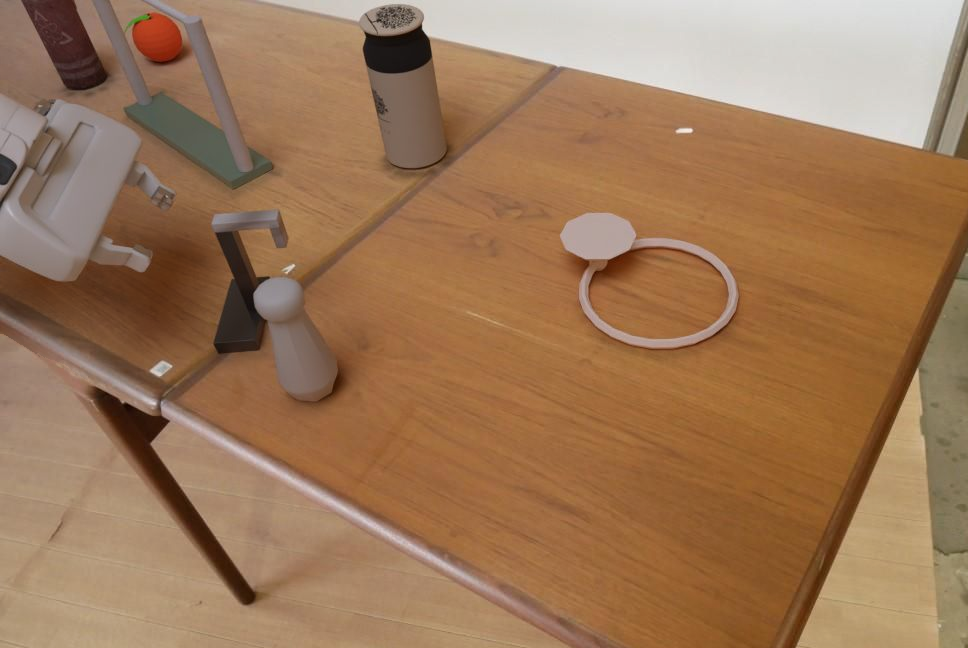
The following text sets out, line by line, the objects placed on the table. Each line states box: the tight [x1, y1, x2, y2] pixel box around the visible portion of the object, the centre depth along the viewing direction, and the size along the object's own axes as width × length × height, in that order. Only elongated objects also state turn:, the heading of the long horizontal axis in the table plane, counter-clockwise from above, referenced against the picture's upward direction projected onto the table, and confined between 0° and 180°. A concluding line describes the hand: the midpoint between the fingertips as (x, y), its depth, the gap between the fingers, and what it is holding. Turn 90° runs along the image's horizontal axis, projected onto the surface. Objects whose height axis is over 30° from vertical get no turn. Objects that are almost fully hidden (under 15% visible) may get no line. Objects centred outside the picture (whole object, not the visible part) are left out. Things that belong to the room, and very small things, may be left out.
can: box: [20, 0, 106, 91], centre depth 122 cm, size 6×6×14 cm
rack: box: [91, 0, 274, 190], centre depth 107 cm, size 6×28×20 cm, turn 47°
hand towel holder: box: [559, 212, 740, 350], centre depth 89 cm, size 17×4×21 cm
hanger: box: [211, 208, 290, 354], centre depth 85 cm, size 9×10×13 cm
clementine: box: [123, 12, 183, 63], centre depth 128 cm, size 8×7×7 cm
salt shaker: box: [253, 276, 339, 403], centre depth 78 cm, size 6×6×13 cm
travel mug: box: [358, 3, 448, 169], centre depth 104 cm, size 8×8×18 cm
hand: (161, 231), depth 81 cm, fingers open, 8 cm apart
